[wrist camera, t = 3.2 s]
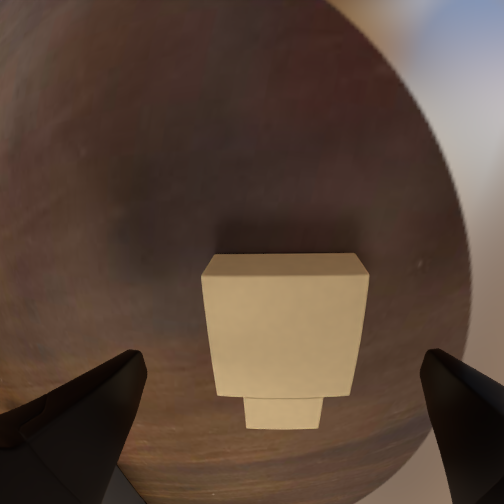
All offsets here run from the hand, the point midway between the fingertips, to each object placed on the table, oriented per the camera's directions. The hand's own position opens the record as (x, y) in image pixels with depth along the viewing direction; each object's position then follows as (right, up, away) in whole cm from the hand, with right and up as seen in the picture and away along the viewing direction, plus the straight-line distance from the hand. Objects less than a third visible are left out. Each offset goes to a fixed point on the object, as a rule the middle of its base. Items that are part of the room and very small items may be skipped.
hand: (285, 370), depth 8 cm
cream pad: (0, 0, +3) cm, 3 cm away
